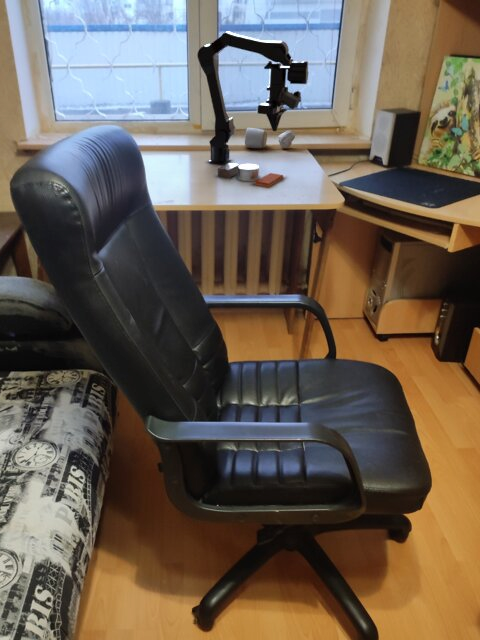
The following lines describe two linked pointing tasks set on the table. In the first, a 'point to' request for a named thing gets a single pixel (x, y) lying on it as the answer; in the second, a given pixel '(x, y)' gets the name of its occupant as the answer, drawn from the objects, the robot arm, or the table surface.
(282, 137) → the frog figurine
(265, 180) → the terracotta tray
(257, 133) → the ceramic mug
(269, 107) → the robot arm
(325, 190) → the table surface
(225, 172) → the walnut block
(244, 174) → the silver pot
